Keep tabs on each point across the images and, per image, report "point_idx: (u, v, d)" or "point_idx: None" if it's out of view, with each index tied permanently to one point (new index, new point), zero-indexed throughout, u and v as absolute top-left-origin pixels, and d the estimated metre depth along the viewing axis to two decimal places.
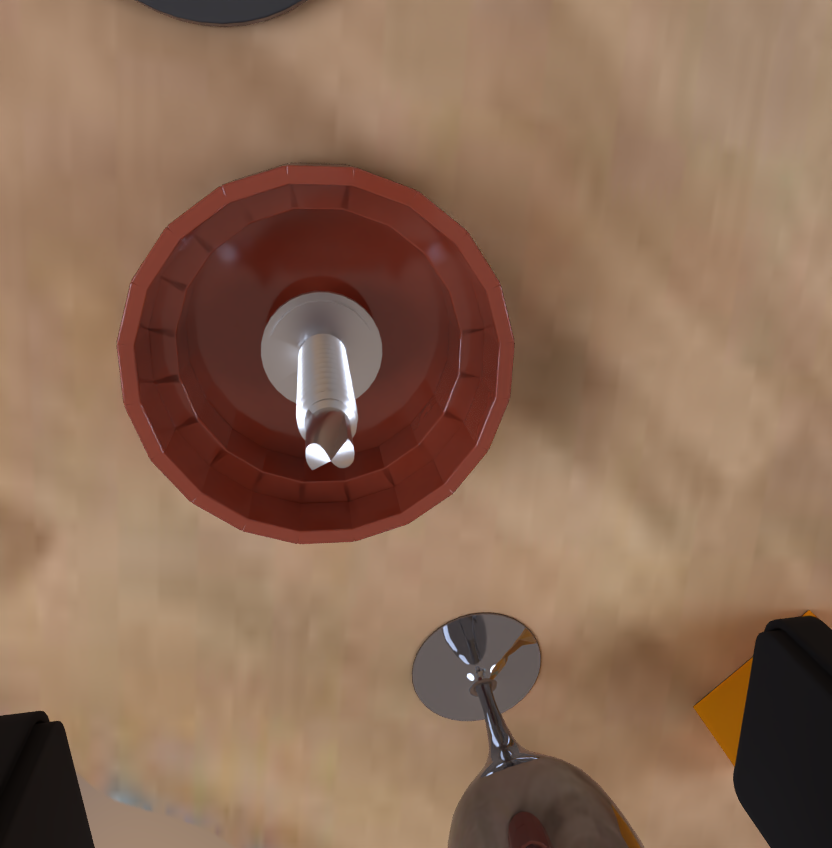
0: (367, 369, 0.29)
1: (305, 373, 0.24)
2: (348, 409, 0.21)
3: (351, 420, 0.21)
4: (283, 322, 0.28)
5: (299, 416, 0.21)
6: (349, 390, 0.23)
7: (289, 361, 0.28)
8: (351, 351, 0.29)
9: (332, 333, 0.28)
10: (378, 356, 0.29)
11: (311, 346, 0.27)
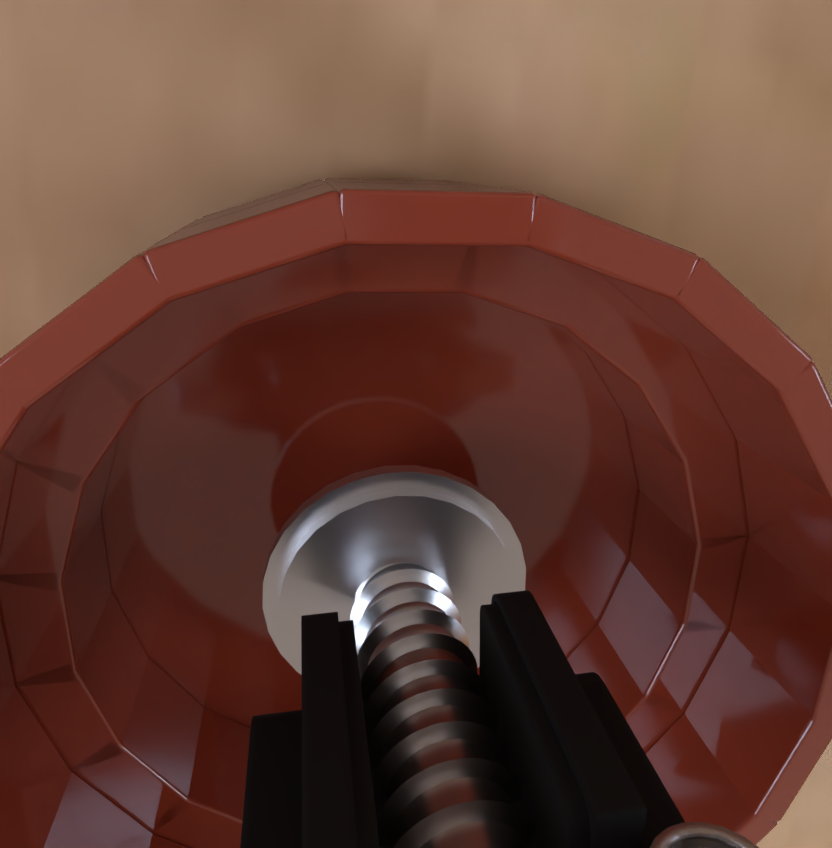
0: None
1: (398, 796, 0.08)
2: None
3: None
4: (314, 544, 0.12)
5: None
6: None
7: None
8: (463, 593, 0.13)
9: (423, 560, 0.13)
10: None
11: (387, 625, 0.11)
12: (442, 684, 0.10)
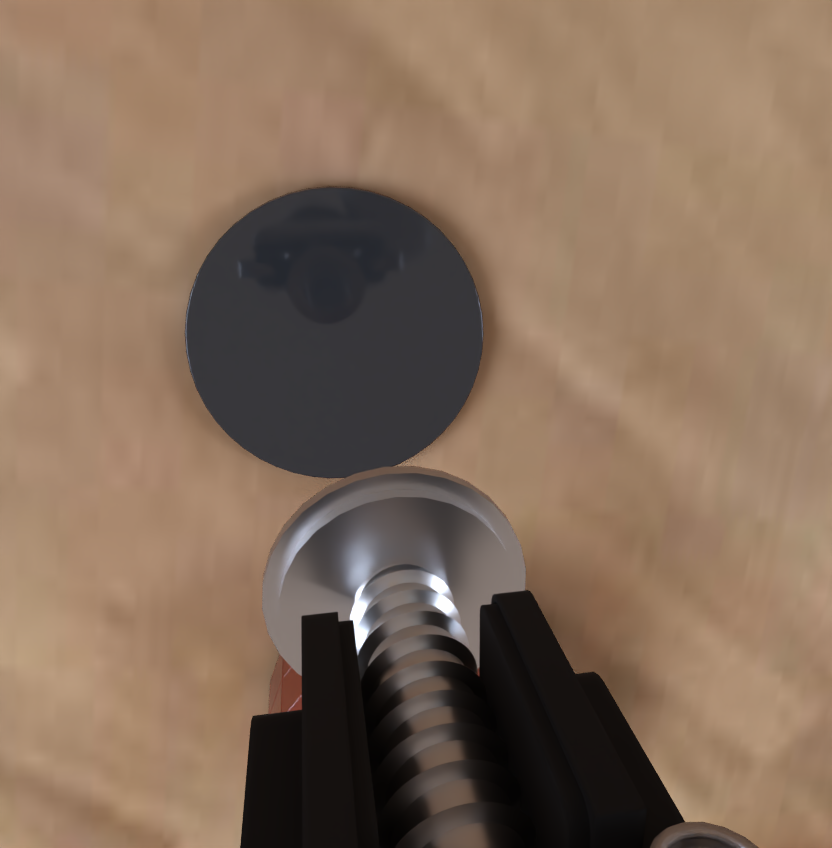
0: None
1: (399, 797, 0.08)
2: None
3: None
4: (314, 544, 0.12)
5: None
6: None
7: None
8: (463, 594, 0.13)
9: (423, 560, 0.13)
10: None
11: (387, 626, 0.11)
12: (442, 685, 0.10)
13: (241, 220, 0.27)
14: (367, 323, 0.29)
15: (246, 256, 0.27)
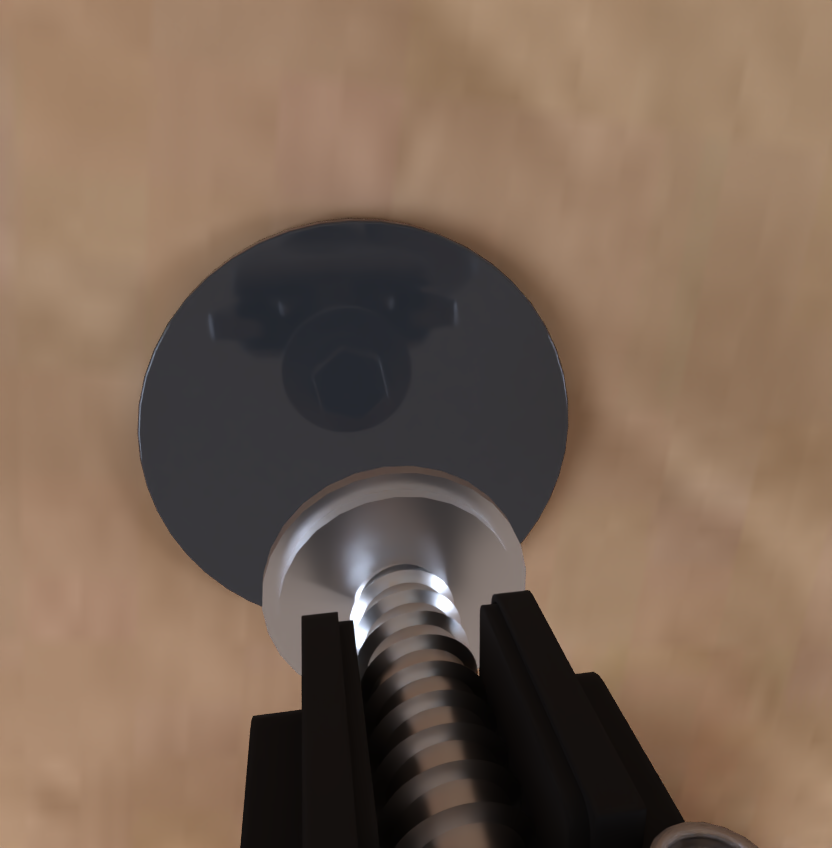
0: None
1: (398, 797, 0.08)
2: None
3: None
4: (314, 545, 0.12)
5: None
6: None
7: None
8: (463, 594, 0.13)
9: (423, 561, 0.13)
10: None
11: (387, 626, 0.11)
12: (442, 685, 0.10)
13: (218, 270, 0.18)
14: (404, 414, 0.20)
15: (227, 323, 0.18)
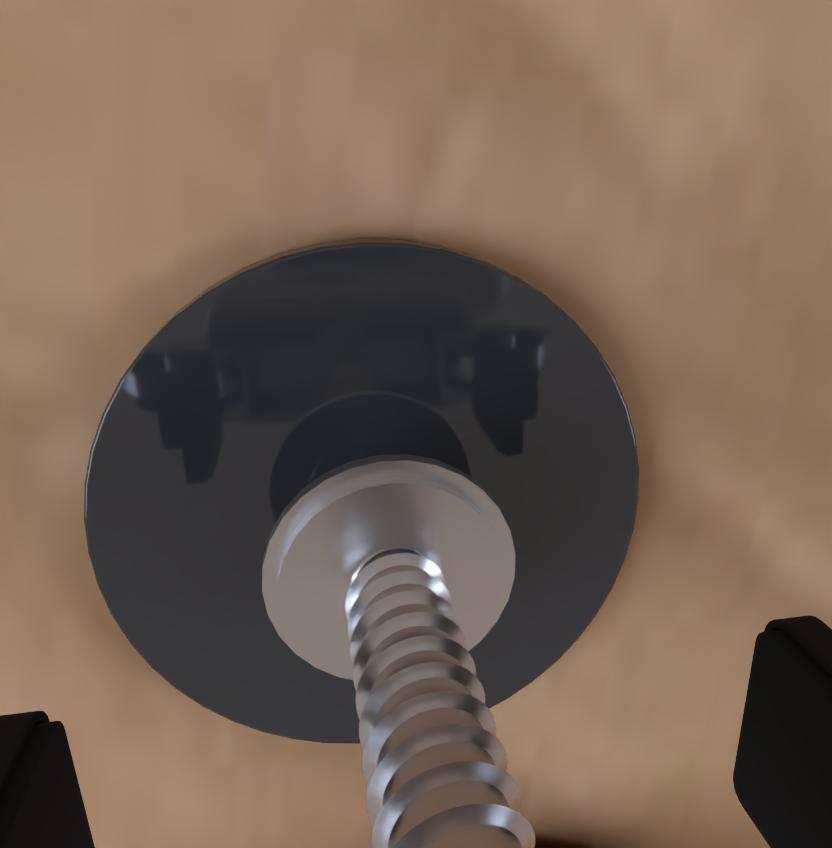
0: (486, 609, 0.14)
1: (390, 759, 0.09)
2: None
3: None
4: (311, 529, 0.13)
5: None
6: None
7: (323, 604, 0.13)
8: (454, 577, 0.13)
9: (416, 545, 0.13)
10: (507, 578, 0.14)
11: (381, 605, 0.11)
12: (432, 658, 0.10)
13: (188, 309, 0.13)
14: None
15: (200, 377, 0.14)
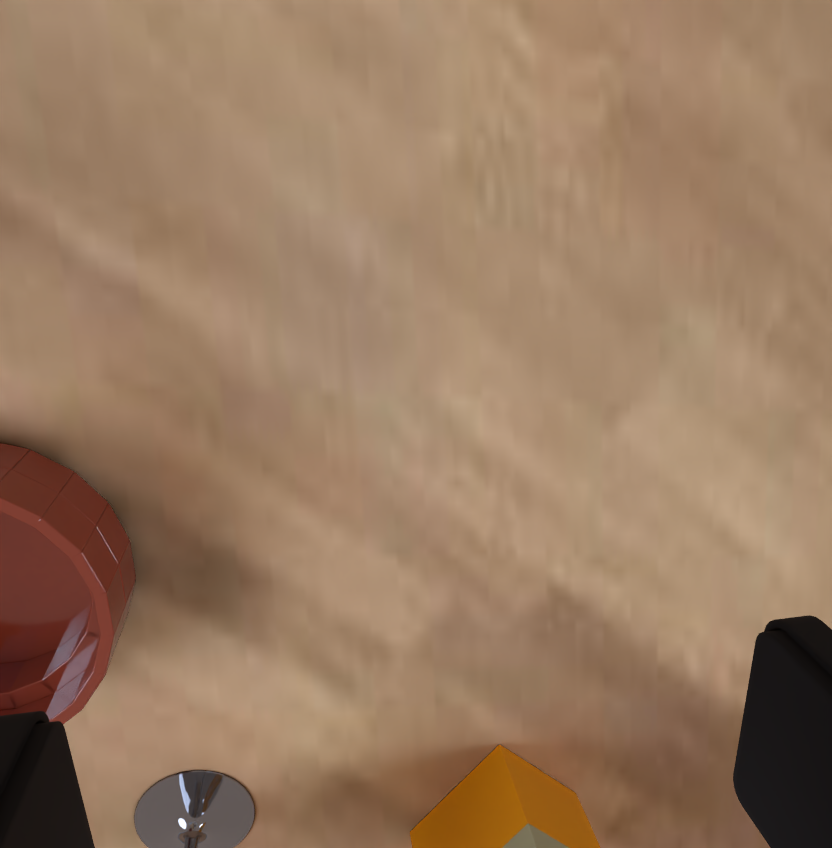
0: None
1: None
2: None
3: None
4: None
5: None
6: None
7: None
8: None
9: None
10: None
11: None
12: None
13: None
14: None
15: None
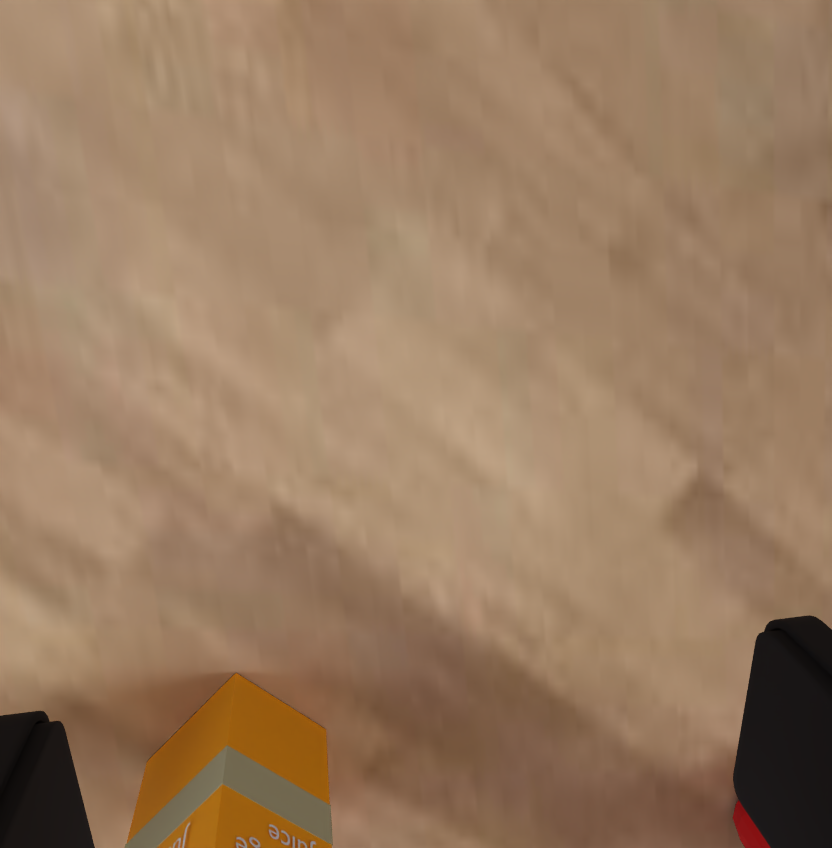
0: None
1: None
2: None
3: None
4: None
5: None
6: None
7: None
8: None
9: None
10: None
11: None
12: None
13: None
14: None
15: None
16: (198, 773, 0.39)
